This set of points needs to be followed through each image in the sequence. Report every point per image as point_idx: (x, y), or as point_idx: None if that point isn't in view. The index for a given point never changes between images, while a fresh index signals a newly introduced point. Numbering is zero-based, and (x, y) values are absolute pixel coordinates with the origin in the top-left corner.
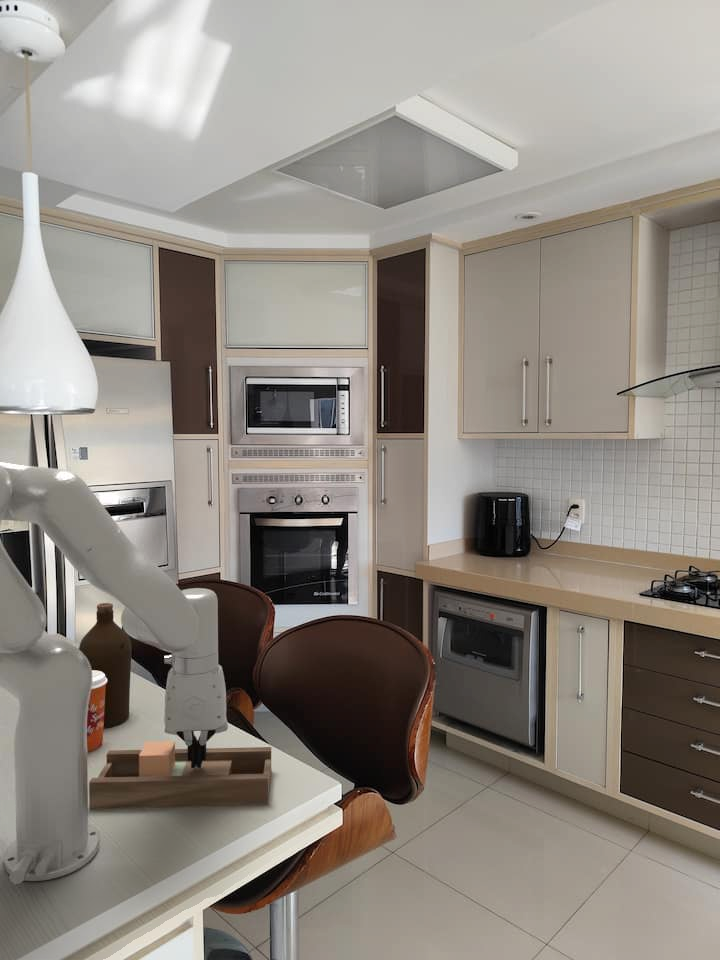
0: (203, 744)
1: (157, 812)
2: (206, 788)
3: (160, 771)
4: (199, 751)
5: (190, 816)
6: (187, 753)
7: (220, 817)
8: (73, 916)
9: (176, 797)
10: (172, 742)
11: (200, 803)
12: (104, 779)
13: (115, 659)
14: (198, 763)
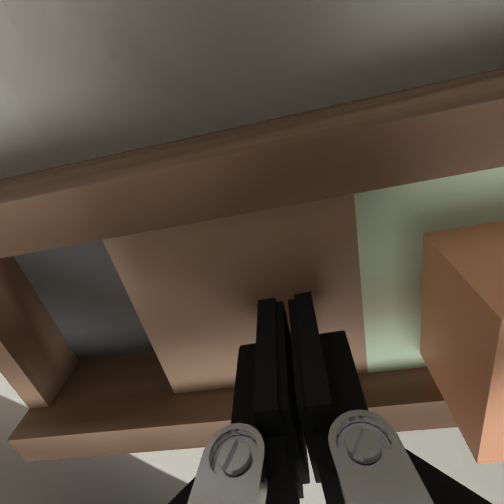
0: (230, 431)
1: (416, 36)
2: (172, 156)
3: (496, 243)
4: (259, 374)
5: (231, 29)
6: (373, 403)
7: (84, 48)
8: None
9: (338, 112)
10: (493, 454)
11: (218, 133)
12: None
13: None
14: (268, 312)
